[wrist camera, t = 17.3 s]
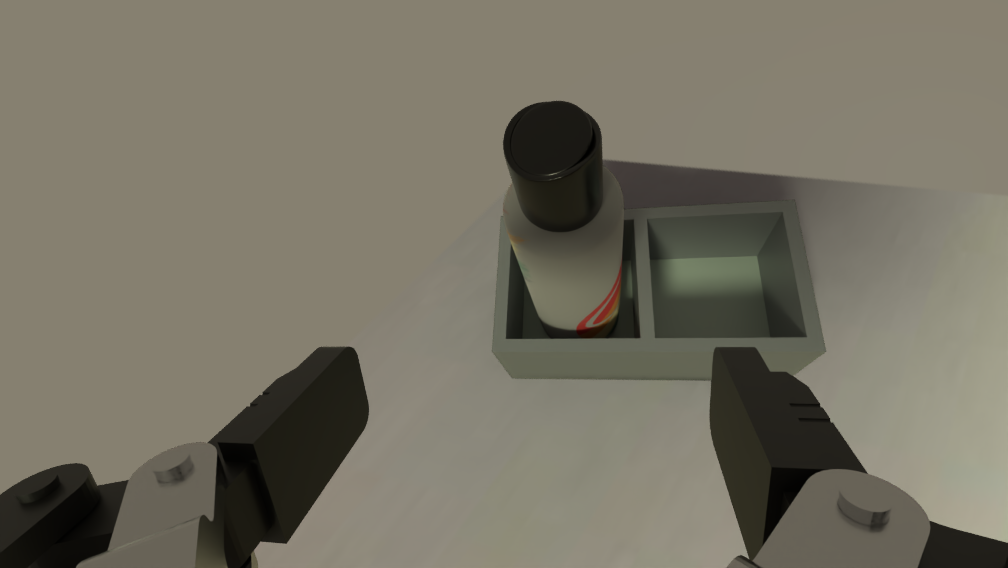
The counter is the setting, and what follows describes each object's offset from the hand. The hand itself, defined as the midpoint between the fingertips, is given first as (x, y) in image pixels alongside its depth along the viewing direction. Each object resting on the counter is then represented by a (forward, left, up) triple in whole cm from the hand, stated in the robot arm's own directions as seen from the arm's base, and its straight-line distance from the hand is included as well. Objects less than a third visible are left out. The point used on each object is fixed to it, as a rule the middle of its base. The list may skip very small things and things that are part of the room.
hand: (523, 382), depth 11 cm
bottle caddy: (-4, -11, -25) cm, 27 cm away
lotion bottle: (0, -10, -24) cm, 26 cm away
